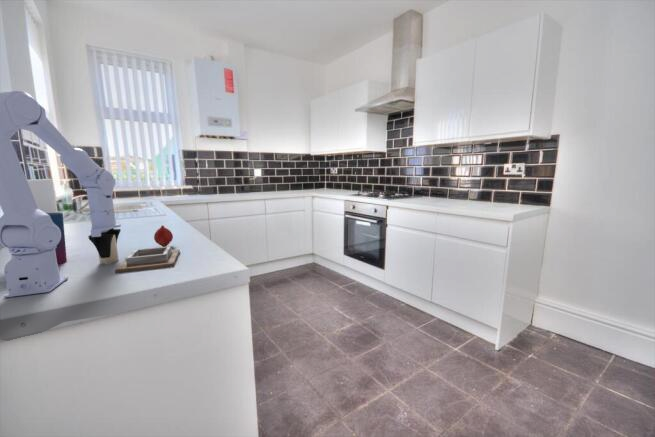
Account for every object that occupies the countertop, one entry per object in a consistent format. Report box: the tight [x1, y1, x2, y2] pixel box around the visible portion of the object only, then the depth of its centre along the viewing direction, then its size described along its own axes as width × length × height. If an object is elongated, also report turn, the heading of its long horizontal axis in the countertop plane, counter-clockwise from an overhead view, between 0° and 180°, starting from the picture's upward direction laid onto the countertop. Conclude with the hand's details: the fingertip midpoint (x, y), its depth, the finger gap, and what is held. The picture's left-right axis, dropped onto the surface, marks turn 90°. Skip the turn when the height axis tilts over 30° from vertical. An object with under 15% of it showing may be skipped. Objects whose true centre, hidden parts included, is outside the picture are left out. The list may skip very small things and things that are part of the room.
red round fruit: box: [153, 225, 174, 247], centre depth 104 cm, size 6×6×8 cm
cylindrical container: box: [27, 178, 59, 213], centre depth 92 cm, size 7×7×25 cm
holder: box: [114, 245, 181, 274], centre depth 87 cm, size 16×14×3 cm
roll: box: [97, 235, 120, 265], centre depth 87 cm, size 5×5×8 cm
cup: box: [46, 212, 68, 265], centre depth 86 cm, size 7×7×15 cm
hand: (108, 255), depth 88 cm, fingers closed on roll, 5 cm apart
